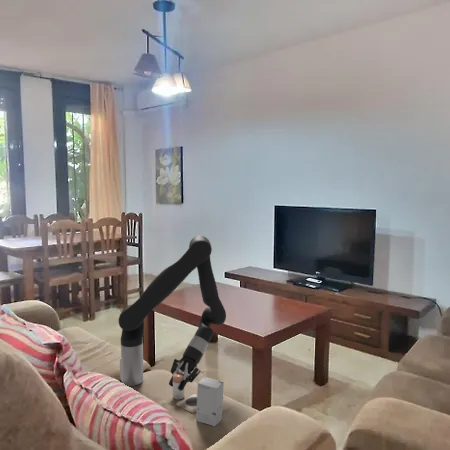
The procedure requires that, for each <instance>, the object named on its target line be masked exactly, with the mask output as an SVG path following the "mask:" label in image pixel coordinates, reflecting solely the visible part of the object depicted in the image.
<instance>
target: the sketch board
mask: <svg viewBox="0 0 450 450" xmlns="http://www.w3.org/2000/svg"><path fill="white" fill-rule="evenodd" d="M176 406H177V407H179V408H181V409H183V410H185V411H187V412H189V413H191V414H196V410H197V393H193V394H191V395H188V396H187V397H184V398H182V399H181V400H180V401H178V402H176Z"/></svg>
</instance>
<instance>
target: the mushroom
mask: <svg viewBox="0 0 450 450" xmlns="http://www.w3.org/2000/svg"><path fill="white" fill-rule="evenodd" d="M172 376H173V387H172V399H173V400H183V399H185V388H184V389H183V390H182V391H180V390H179V389H178V387H179V385H180V383H181V381H182V380H183V377H184V372H183V373H175V374H173V375H172Z"/></svg>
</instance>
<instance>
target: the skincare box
mask: <svg viewBox="0 0 450 450" xmlns="http://www.w3.org/2000/svg"><path fill="white" fill-rule="evenodd" d="M196 394H197V410H196V412H195V415H196V416H195V421H196V422H199V423H202V424H207V425H209V426H212V427H216V426H217V425H218V424H219V423H220V422H221V420H222V419H223V402H224V381H221V380H218V379H215V378H210V377H206V376H203V378H201V380H198V382H197V392H196Z"/></svg>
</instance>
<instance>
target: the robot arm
mask: <svg viewBox="0 0 450 450" xmlns="http://www.w3.org/2000/svg"><path fill="white" fill-rule="evenodd" d="M212 250H213V249H212V244H211V241H210V239H208V238H207V237H206V236H204V235H201V234H200V235H194V237H192V238H191V240H190V242H189V245H188V249H187V250H186V252H184V254H183V255H182V256H181V257H180V258H179V259H178V260H177V261H175V262H174V263H173V264H172V263H171V265H169V266H168V267H165V268H164V269H163V270H162V271H161V272H160V273H159V274H158V275H157V276H156V277H155V278H154V279H153V280H152V281H151V282H150V284H148V286H147V287H146V289H144V291H143V293H142V294H141V296H140V297H139V298H138V299H137V300H136V301H135V302H133V303H131V304H129V305H127V306H125V307H124V308H123V309H122V311H121V312H120V314H119V317H118V326H119V327H120V329H121V336H120V360H119V375H120V376H119V380H120V381H121V383H124V384H126V385H128V386H127V387H134V386H138V385H141V384H142V383H143V382H144V345H143V343H144V342H143V340H144V338H143V337H144V332H145V331H144V324H145V323H144V320H145V318H147V316H148V315H149V314H150V313H151V312H152V311H153V310H154V309H155V308H156V307H158V306H159V305H160V304H161V303H162V302H164V300H166V299H167V298H168V297H169V296H170V295H172V293H173V292H174V291H175V290H176V289H177V288H178V287H179V286H180V285H181V284H182V283H183V282H184V280H186V278H187V277H188V276H189V275H190V274H191V273H192V272H193V271H194V270H196V269H197V275H198V281H199V288H200V293H201V298H202V302H203V304H204V305H206V306H207V307H206V308H204V310H203V311H202V314H201V317H200V319H199V320H200V321H199V323H198V328H197V330H196V331H195V333H194V335H193V337H192V338H191V340H190V341H189V343H188V344H187V346H186V348H185V350H184V351H183V353H182V357H181V358H180V359H176V358H174V359H173V362H172V365H171V368H170V371H169V372H170V373H171V375H172V376H171V378H170V380H169V381H168V385H169V386H170V387H171V388H173V374H175V373H183V374H184V377H183V380H182V381H181V383H180V385H179V387H178V389H179V390H180V391H182V390H183V389H184V390H185V386H186V385H187V384H188V383H193V382H194V380H195V379H196V378H197V377H198V375H199V374H200V373H201V369H200V368H198V364H200V362H201V360H202V358H203V356H204V354H205V352H206V350H207V348H208V345H209V344H210V342H211V340H212V338H213V336H214V333H215V332H214V330H213V329H212V328H211V324H213V325H216V326H222V325H223V324H224V323H225V322H226V321H227V320H226V319H227V312H226V309H225V307H224V305H223V303H222V300H221V299H220V296H219V292H218V286H217V283H216V279H215V276H214V275H215V274H214V272H213V267H212V262H211V254H212V252H213V251H212ZM124 384H123V385H124ZM126 385H125V386H126Z"/></svg>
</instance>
